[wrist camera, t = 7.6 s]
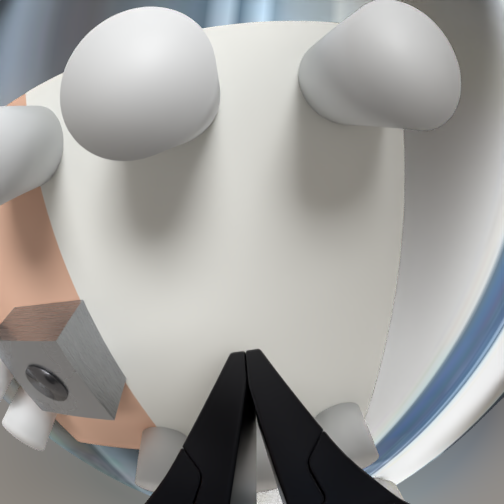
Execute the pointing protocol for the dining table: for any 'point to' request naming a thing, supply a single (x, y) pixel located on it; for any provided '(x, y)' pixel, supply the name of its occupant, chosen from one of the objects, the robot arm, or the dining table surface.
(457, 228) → the dining table surface
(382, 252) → the board
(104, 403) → the nut
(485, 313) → the dining table surface
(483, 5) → the dining table surface
